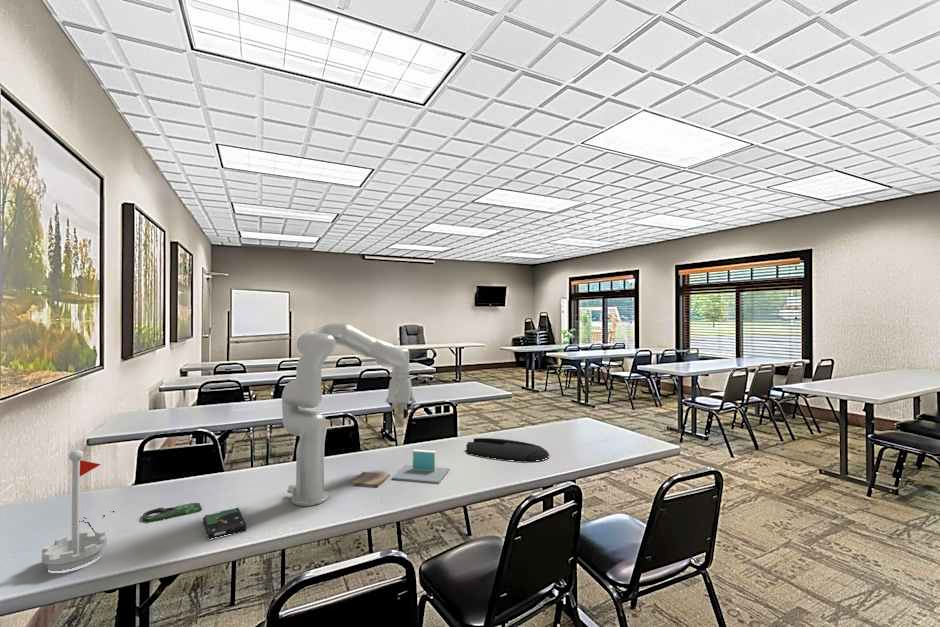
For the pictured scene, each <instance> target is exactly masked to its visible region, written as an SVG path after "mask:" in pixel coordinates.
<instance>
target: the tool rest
mask: <svg viewBox="0 0 940 627" xmlns="http://www.w3.org/2000/svg"><path fill="white" fill-rule="evenodd" d="M389 476H390V477H391V475H390V473H379V472H369V471H368V472H367V471H362V472H361V473H360V474H358V475H356V477H354V478H352V480H350V481H349V482H348V484H354V485H353V486H357V485H364V486H363V487H368V486H373V487H372V488H379V487H380V486H381V485H382V484H383V483H384V482H385V480H386V479H387V478H388V477H389ZM390 477H389V478H390ZM389 478H388V479H389ZM388 479H387V480H388ZM387 480H386V481H387ZM381 483H382V484H381ZM380 484H381V485H380ZM379 485H380V486H379ZM378 486H379V487H378Z"/></svg>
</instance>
